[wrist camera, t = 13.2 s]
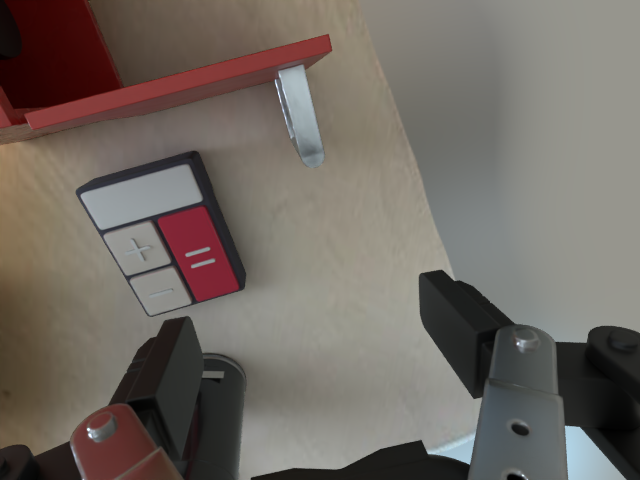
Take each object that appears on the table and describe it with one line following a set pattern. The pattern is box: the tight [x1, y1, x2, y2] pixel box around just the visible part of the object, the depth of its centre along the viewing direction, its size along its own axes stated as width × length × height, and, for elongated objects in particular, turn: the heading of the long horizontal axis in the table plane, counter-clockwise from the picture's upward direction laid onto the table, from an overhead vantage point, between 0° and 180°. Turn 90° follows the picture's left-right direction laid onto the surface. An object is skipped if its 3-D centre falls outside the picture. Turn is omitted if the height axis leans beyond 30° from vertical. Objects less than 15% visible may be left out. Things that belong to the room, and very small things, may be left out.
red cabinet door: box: [24, 34, 332, 168], centre depth 27 cm, size 7×16×17 cm, turn 104°
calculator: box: [76, 151, 246, 317], centre depth 36 cm, size 11×4×15 cm
